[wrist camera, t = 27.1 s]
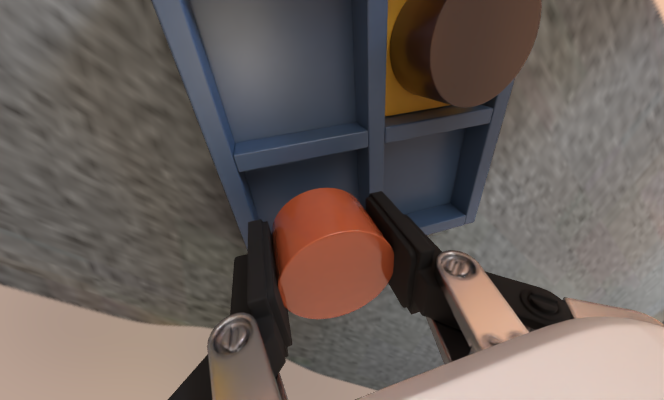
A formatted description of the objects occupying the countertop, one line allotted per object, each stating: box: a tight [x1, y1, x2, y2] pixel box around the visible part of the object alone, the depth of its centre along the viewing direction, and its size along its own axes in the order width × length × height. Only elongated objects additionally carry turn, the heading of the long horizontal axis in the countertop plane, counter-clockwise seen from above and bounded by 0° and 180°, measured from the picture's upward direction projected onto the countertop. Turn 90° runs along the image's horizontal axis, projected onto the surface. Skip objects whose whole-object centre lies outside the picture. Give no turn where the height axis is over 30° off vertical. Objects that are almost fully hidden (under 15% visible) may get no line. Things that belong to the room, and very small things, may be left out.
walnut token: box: [390, 0, 542, 108], centre depth 10 cm, size 4×4×3 cm
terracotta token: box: [271, 188, 394, 319], centre depth 10 cm, size 4×4×3 cm
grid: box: [151, 0, 515, 251], centre depth 12 cm, size 14×14×2 cm
